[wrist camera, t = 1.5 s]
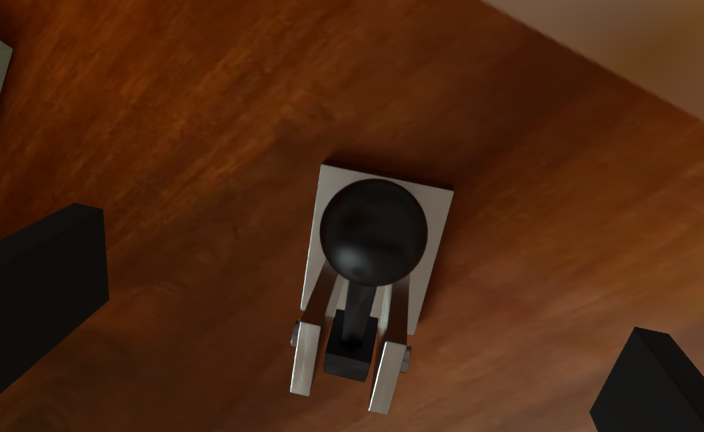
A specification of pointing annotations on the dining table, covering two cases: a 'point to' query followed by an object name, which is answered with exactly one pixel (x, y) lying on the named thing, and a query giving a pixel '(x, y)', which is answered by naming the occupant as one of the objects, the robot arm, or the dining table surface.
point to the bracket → (390, 301)
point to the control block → (4, 61)
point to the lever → (367, 262)
